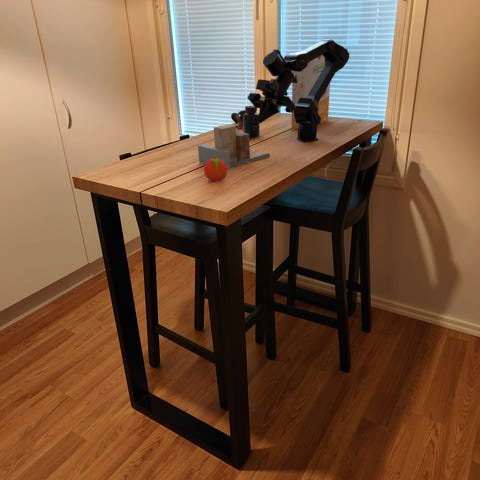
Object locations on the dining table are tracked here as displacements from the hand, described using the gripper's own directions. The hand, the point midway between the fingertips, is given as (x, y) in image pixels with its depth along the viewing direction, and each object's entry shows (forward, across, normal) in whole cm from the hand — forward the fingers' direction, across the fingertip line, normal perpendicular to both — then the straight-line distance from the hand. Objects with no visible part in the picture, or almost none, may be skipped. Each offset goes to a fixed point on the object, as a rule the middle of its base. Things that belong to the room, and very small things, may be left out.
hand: (258, 122), depth 149 cm
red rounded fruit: (+29, +13, -14) cm, 35 cm away
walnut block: (+15, 0, 0) cm, 15 cm away
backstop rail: (+16, 0, 0) cm, 16 cm away
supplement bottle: (-4, -22, +20) cm, 30 cm away
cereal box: (-26, -17, +42) cm, 53 cm away
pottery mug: (-12, -40, +28) cm, 50 cm away
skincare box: (+19, +1, -4) cm, 19 cm away
